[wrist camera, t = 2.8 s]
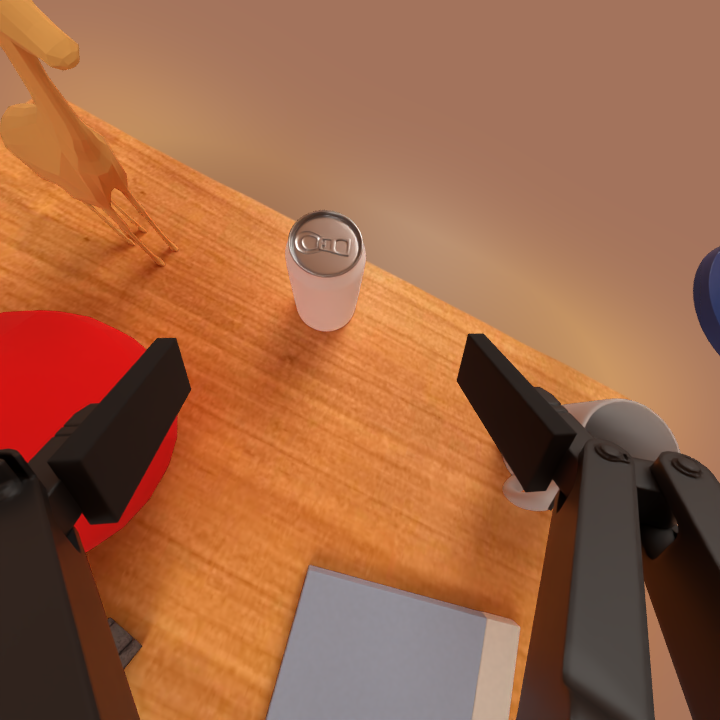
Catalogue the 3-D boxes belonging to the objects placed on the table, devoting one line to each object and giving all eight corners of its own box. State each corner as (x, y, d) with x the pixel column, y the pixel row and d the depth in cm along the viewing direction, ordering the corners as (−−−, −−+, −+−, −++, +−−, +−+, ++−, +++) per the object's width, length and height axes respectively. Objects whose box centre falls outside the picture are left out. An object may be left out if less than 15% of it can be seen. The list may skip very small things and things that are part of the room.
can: (300, 274, 36) (287, 199, 25) (357, 281, 37) (371, 210, 25) (293, 329, 35) (276, 276, 23) (352, 335, 35) (365, 287, 24)
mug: (541, 393, 36) (632, 376, 25) (590, 460, 35) (706, 472, 24) (458, 454, 33) (519, 464, 23) (507, 528, 32) (596, 575, 22)
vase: (236, 474, 31) (102, 533, 12) (31, 584, 27) (-589, 898, 9) (164, 312, 34) (-34, 163, 15) (-31, 393, 30) (-599, 327, 12)
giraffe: (244, 280, 35) (67, -54, 11) (219, 311, 34) (-38, 17, 10) (121, 203, 36) (-302, -275, 12) (92, 231, 35) (-438, -229, 11)
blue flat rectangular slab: (512, 619, 31) (520, 627, 29) (482, 839, 27) (490, 859, 25) (309, 563, 30) (308, 569, 29) (247, 781, 26) (243, 798, 25)
